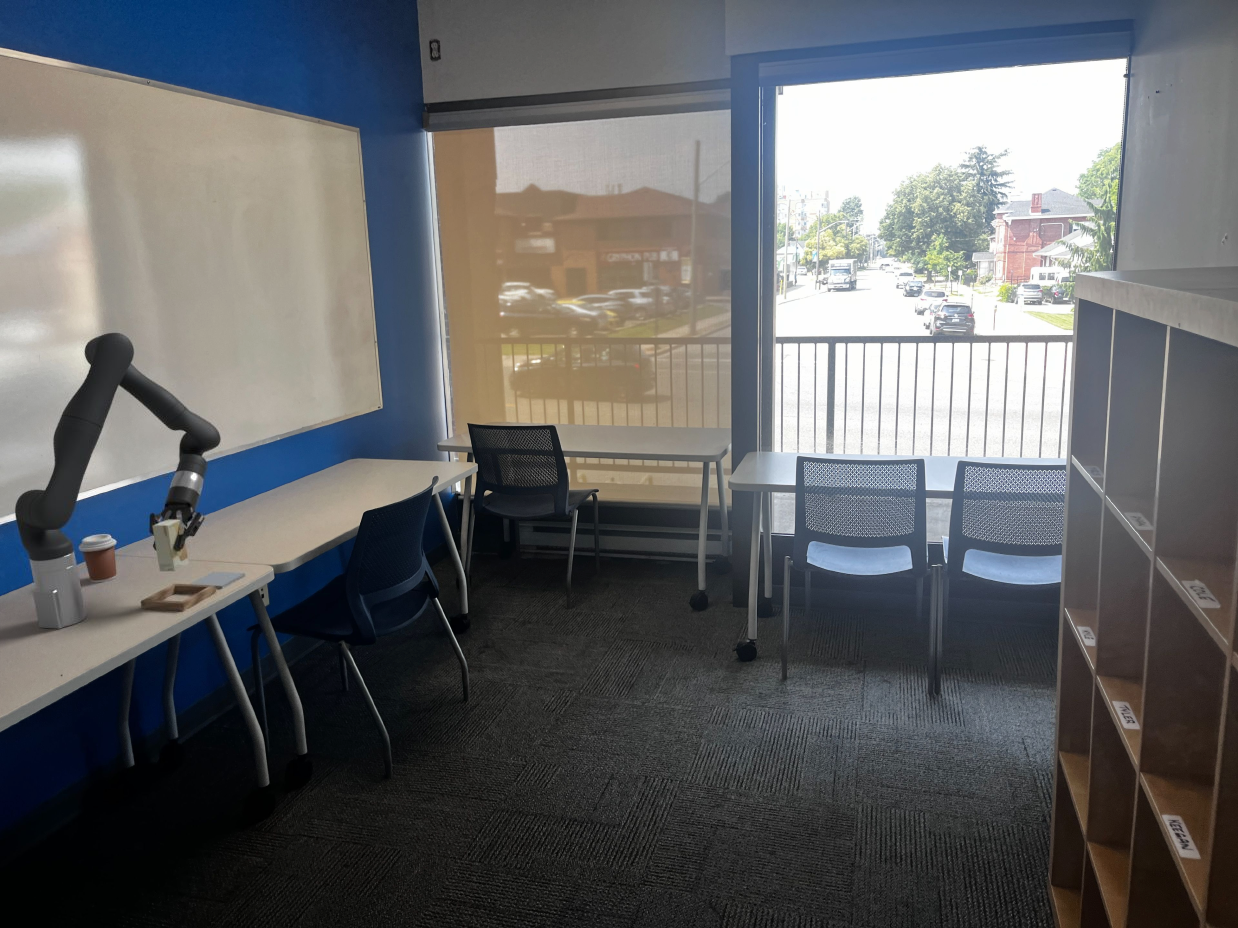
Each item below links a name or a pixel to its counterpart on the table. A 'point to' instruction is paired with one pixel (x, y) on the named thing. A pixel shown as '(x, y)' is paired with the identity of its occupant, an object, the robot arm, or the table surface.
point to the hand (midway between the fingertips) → (167, 550)
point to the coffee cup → (99, 557)
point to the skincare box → (169, 546)
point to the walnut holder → (158, 602)
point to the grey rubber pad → (219, 579)
